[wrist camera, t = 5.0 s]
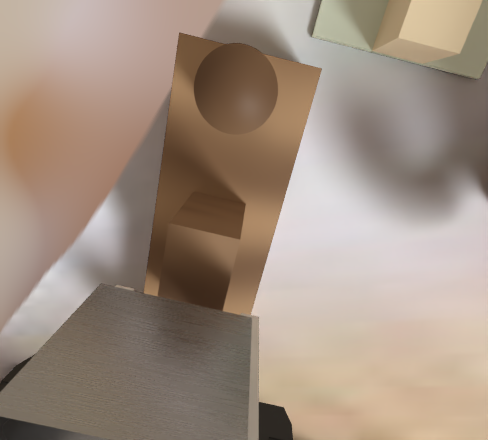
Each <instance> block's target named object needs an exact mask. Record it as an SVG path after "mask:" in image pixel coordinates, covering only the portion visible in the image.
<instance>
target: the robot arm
mask: <svg viewBox="0 0 488 440" xmlns="http://www.w3.org/2000/svg"><path fill="white" fill-rule="evenodd" d="M115 287H119V288H123V289H127V290H132V291H135V289H134V288H129V287H125V286H120V285H116V286H115ZM240 315H242V316H247V317H251V318H252V332H251V360H250V387H249V415H248V440H293V435H292V425H291V422H290V420H289V418H288V416H287V414H286V411H285V409H284V407H279V406H275V405H270V404H266V403H261V402H259V317H257V316H253V315H248V314H244V313H241V314H240ZM33 356H34V355H33ZM33 356H32V357H33ZM32 357H30V358H28V359H27V360H25V361H23V362H22V363H20V364H18V365H17V366H16V367H15V368H14V369H13V370H12V371H11V372H10V373H9V374H8V375H7V376H6V377H5V378H4V379H3V380H2V382H1V384H0V392H1V391H2V390H3V389H4V388H5V387H6V385H7V384H8V383H9V382H10V381H11V380H12V379H13V378H14V377H15V376H16V375H17V374H18V373H19V371H20V370H21V369H22V368H23V367H24V366H25V365H26V364H27V363H28V362H29V361H30V360H31V358H32Z"/></svg>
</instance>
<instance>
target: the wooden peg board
mask: <svg viewBox="0 0 488 440" xmlns="http://www.w3.org/2000/svg"><path fill="white" fill-rule="evenodd" d="M321 70H322V69H321V68H317V67H313V66H309V65H305V64H301V63H298V62H294V61H290V60H286V59H282V58H278V57H274V56H270V55H266V54H262V53H261V52H260V51H259V50H257V49H255V48H254V47H252V46H249V45H246V44H241V43H231V44H223V43H219V42H215V41H211V40H207V39H203V38H199V37H195V36H191V35H187V34H183V33H179V39H178V46H177V53H176V60H175V68H174V75H173V83H172V90H171V97H170V104H169V111H168V119H167V126H166V133H165V141H164V148H163V155H162V162H161V170H160V177H159V184H158V192H157V199H156V206H155V214H154V221H153V228H152V235H151V243H150V250H149V257H148V265H147V272H146V279H145V286H144V293H145V294H150V295H154V296H158V297H163V298H167V299H172V300H176V301H181V302H185V303H189V304H194V305H198V306H203V307H207V308H211V309H216V310H220V311H225V312H229V313H234V314H238V315H240V314H241V313H244V314H248V315H251V311H252V308H253V304H254V301H255V298H256V294H257V291H258V287H259V284H260V280H261V277H262V273H263V270H264V266H265V263H266V260H267V256H268V253H269V249H270V246H271V242H272V239H273V235H274V232H275V229H276V225H277V222H278V218H279V215H280V211H281V208H282V204H283V201H284V198H285V194H286V191H287V187H288V184H289V180H290V177H291V173H292V170H293V166H294V163H295V160H296V156H297V153H298V149H299V146H300V142H301V139H302V135H303V132H304V129H305V125H306V122H307V118H308V115H309V111H310V108H311V104H312V101H313V97H314V94H315V91H316V87H317V84H318V80H319V77H320V73H321Z"/></svg>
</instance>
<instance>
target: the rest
mask: <svg viewBox="0 0 488 440" xmlns="http://www.w3.org/2000/svg"><path fill="white" fill-rule="evenodd" d="M312 37H313V38H317V39H321V40H325V41H329V42H333V43H336V44H340V45H344V46H348V47H352V48H356V49H360V50H364V51H368V52H371V53H375V54H379V55H383V56H387V57H391V58H395V59H399V60H403V61H407V62H410V63H414V64H418V65H422V66H426V67H430V68H434V69H438V70H442V71H445V72H449V73H453V74H457V75H461V76H465V77H469V78H473V79H480V77H481V75H482V73H483V71H484V69H485V67H486V64H487V62H488V0H321V4H320V8H319V11H318V15H317V19H316V23H315V26H314V30H313V34H312Z"/></svg>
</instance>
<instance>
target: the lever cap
mask: <svg viewBox="0 0 488 440" xmlns="http://www.w3.org/2000/svg"><path fill="white" fill-rule="evenodd" d="M251 332H252V318H251V317H247V316H242V315H238V314H234V313H229V312H225V311H220V310H216V309H211V308H207V307H203V306H198V305H194V304H189V303H185V302H181V301H176V300H172V299H167V298H163V297H158V296H154V295H150V294H145V293H141V292H136V291H132V290H127V289H123V288H119V287H114V286H110V285H105V284H100V285H99V286H98V287H97V288H96V290H95V291H94V292H93V293H92V294H91V295H90V296H89V297H88V298H87V299H86V300H85V301H84V302H83V304H82V305H81V306H80V307H79V308H78V309H77V310H76V311H75V312H74V313H73V314H72V315H71V316H70V318H69V319H68V320H67V321H66V322H65V323H64V324H63V325H62V326H61V327H60V328H59V329H58V330H57V332H56V333H55V334H54V335H53V336H52V337H51V338H50V339H49V340H48V341H47V342H46V343H45V344H44V346H43V347H42V348H41V349H40V350H39V351H38V352H37V353H36V354H35V355H34V356H33V357H32V358H31V360H30V361H29V362H28V363H27V364H26V365H25V366H24V367H23V368H22V369H21V370H20V371H19V373H18V374H17V375H16V376H15V377H14V378H13V379H12V380H11V381H10V382H9V383H8V384H7V385H6V387H5V388H4V389H3V390H2V391H1V392H0V440H248V415H249V387H250V360H251Z"/></svg>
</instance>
